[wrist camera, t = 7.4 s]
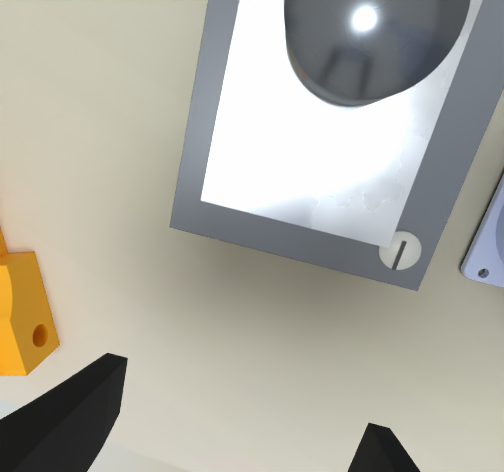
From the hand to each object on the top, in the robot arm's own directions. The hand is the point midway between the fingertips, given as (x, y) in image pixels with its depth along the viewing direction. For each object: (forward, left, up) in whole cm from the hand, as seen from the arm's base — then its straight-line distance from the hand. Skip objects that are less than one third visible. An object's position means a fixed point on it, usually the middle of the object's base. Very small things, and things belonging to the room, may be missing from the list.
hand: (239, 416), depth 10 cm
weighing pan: (-1, -11, -7) cm, 13 cm away
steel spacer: (0, -11, -6) cm, 12 cm away
